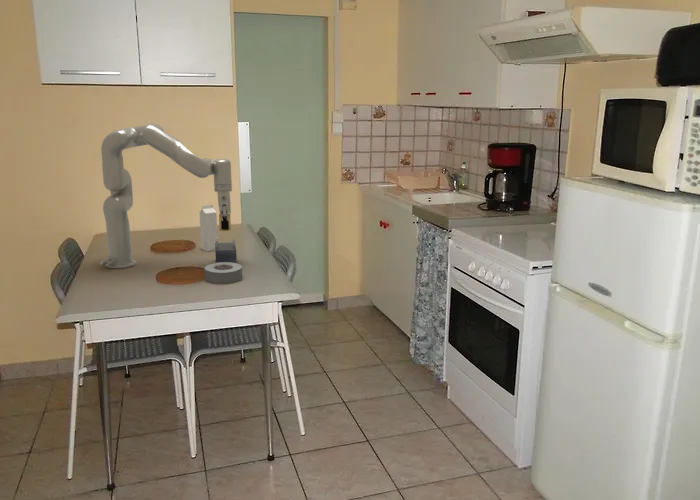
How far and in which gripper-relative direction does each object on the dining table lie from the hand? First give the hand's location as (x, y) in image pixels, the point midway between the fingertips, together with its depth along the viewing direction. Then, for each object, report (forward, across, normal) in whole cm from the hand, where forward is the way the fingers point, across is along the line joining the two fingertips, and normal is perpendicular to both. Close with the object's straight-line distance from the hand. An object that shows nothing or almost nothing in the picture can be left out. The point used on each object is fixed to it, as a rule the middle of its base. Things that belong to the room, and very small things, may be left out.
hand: (225, 227), depth 267 cm
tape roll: (+17, -23, +2) cm, 28 cm away
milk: (+17, +28, +7) cm, 33 cm away
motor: (+17, +2, 0) cm, 17 cm away
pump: (+1, 0, 0) cm, 1 cm away
